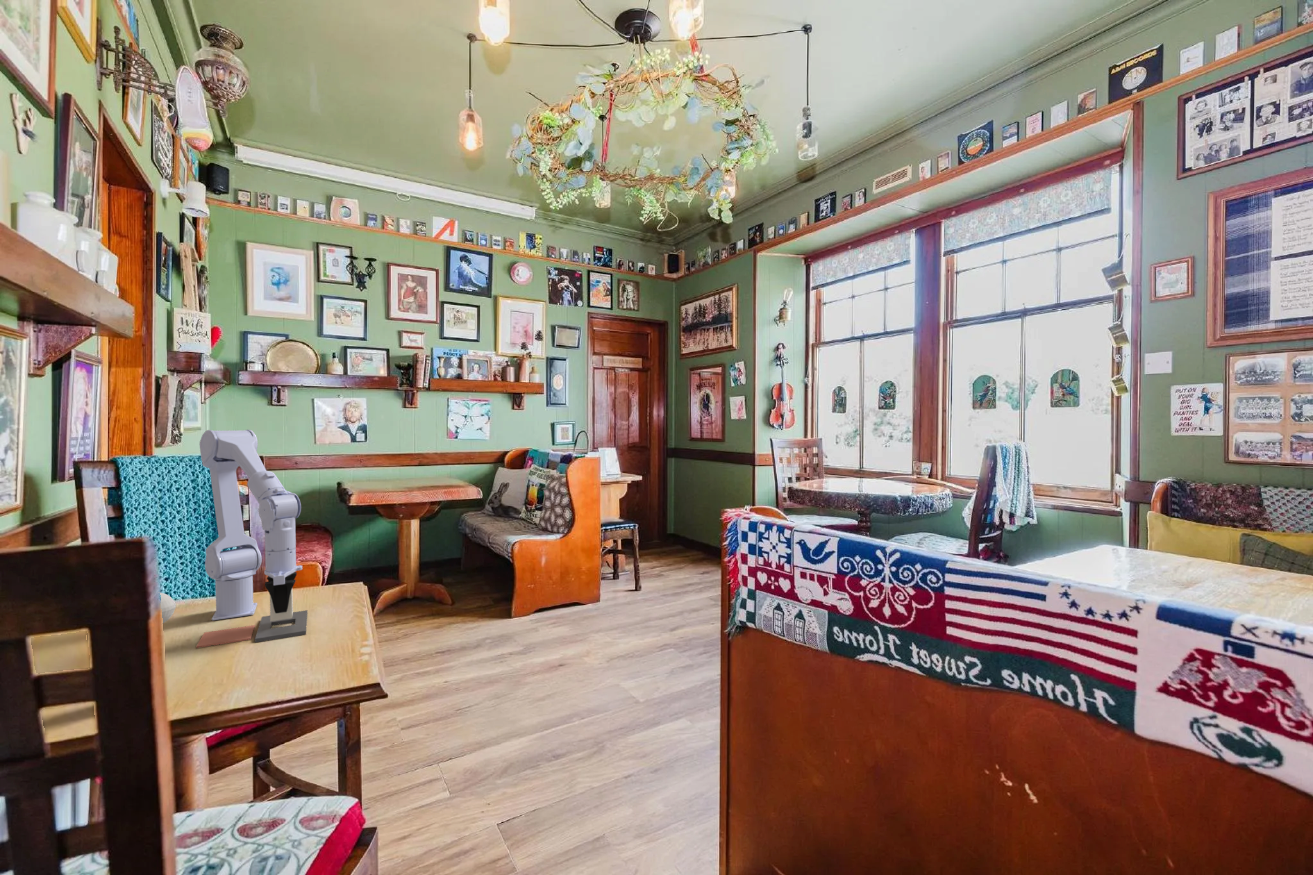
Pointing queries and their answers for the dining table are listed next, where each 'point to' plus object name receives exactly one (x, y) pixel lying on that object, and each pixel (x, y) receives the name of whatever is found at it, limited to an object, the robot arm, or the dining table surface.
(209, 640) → the mat
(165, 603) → the lollipop
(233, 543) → the robot arm
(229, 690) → the dining table surface
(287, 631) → the board
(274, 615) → the plug
